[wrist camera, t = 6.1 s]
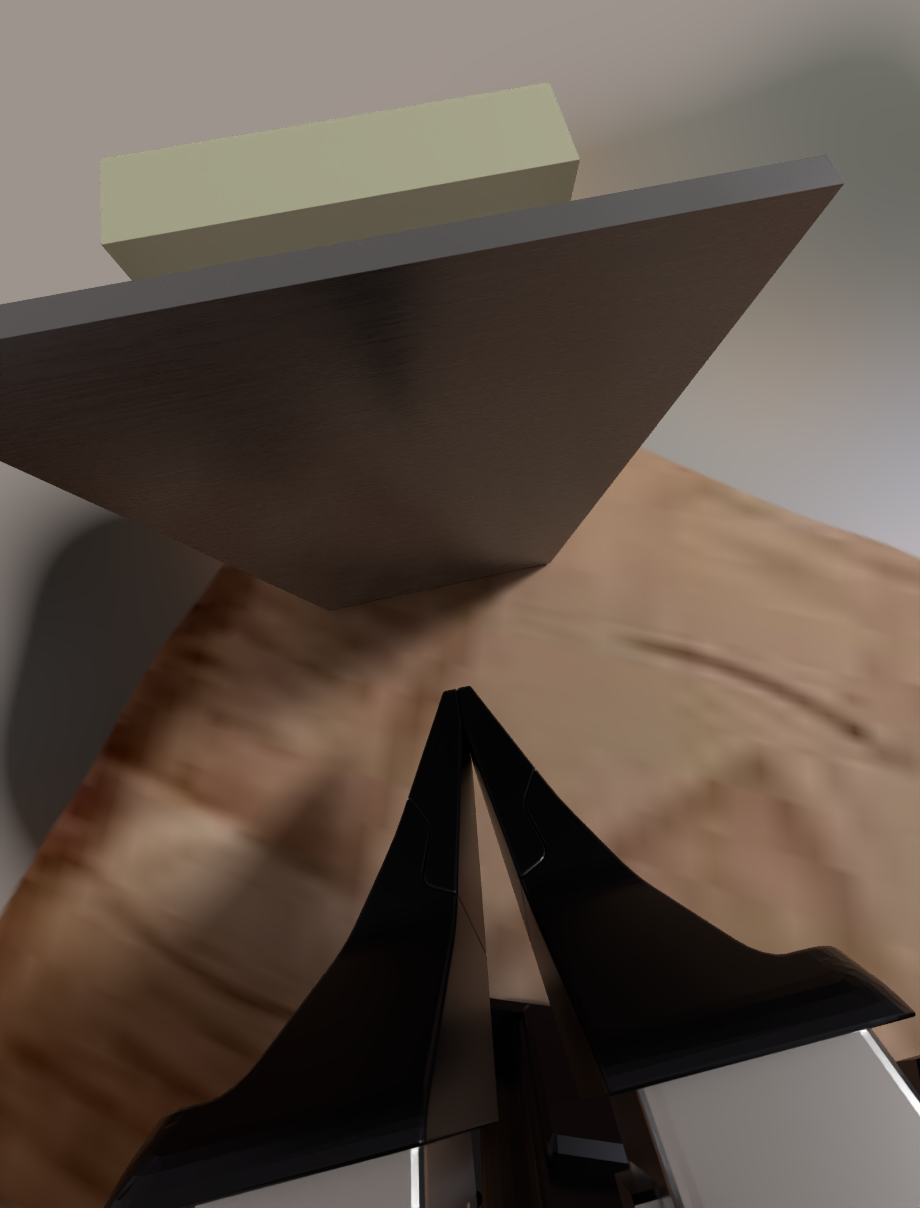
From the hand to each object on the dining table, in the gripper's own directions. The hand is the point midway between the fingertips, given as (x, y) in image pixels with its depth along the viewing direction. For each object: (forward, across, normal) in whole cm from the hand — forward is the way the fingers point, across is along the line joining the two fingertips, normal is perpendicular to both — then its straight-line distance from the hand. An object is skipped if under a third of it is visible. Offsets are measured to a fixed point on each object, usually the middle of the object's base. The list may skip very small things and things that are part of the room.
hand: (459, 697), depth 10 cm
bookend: (+8, 0, +1) cm, 9 cm away
